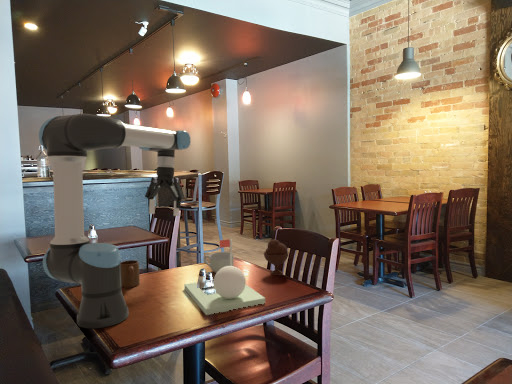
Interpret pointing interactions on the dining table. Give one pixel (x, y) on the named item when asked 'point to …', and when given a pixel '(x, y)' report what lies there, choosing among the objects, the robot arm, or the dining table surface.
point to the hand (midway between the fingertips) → (163, 214)
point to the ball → (229, 282)
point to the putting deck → (218, 303)
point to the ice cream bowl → (276, 255)
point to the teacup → (218, 260)
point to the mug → (130, 273)
